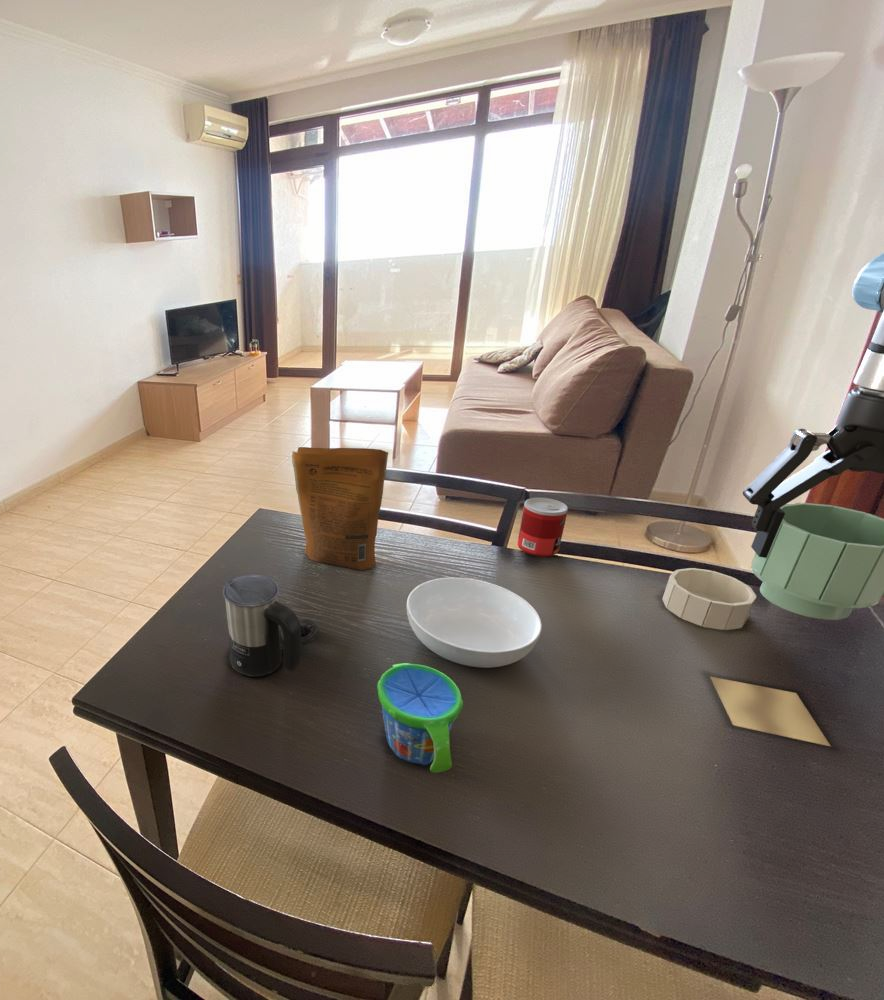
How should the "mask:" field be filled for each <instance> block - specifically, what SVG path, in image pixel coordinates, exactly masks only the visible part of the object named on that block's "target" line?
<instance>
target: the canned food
mask: <svg viewBox="0 0 884 1000" xmlns="http://www.w3.org/2000/svg"><path fill="white" fill-rule="evenodd" d="M568 510H569V507H568V506H567V504H565V503H564V502H562V501H559V500H557V499H553V498H549V497H531V498H528V499H526V500H525V501H524V505H523V509H522V514H521V521H520V526H519V532H518V538H517V547H518V548H519V549H520V551H522V552H524V553H526V554H528V555H530V556H536V557H546V558H547V557H552V556H555V555H557V554H558V552H559V551H560V547H561V542H562V538H563V534H564V529H565V525H566V521H567V517H568Z"/></svg>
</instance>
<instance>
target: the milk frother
mask: <svg viewBox="0 0 884 1000" xmlns="http://www.w3.org/2000/svg"><path fill="white" fill-rule="evenodd" d="M279 589H280V588H279V585H278V583H277V582H276V581H275V580H274V579H272V578H271V577H269V576H265V575H261V574H245V575H240V576H237V577H235V578H233V579H231V580H228V581H227V582H226V584H224V587H223V589H222V595H223V597H224V600H225V609H226V619H227V627H228V635H229V647H230V655H229V663H230V665H231V667H232V669H233V670H234V671H236V672H237V673H239V674H241V675H242V676H246V677H257V678H258V677H264V676H267V675H270V674H272V673H274V672H275V671H276V670H278V669H279V668H280V666H281V664H283V668H284V670H285V671H289V672H291V671H293V670H294V669H295V668H297V666H298V665H299V664H300V663H301V649H302V648H301V647H302V646H303V647H304V646H305V645H308V644H310V643H311V642H312V641H314V640H315V639H316V638H317V637H318V635H320V631H321V629H320V627H319V624H318V623H317V621H314V620H312V619H309V618H301V619H299V618H298V615H297V614H296V613H295V612H294V610H292V609H291V608H290V607H289V606H287V605H285V604H283V603H282V602H279V601H278V595H279ZM280 629H281V633H280ZM307 633H309V634H308V635H306V636H303V637H302V635H303V634H307ZM280 636H281V640H282V644H283V646H282V647H281V643H280V641H281V640H280ZM282 654H283V655H282ZM282 662H283V663H282Z"/></svg>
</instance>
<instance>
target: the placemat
mask: <svg viewBox="0 0 884 1000" xmlns="http://www.w3.org/2000/svg"><path fill="white" fill-rule="evenodd" d="M709 677H710V680H711V682H712V683H713V686H714V689H715V690H716V692H717V695H718V697H719V699H720V701H721V703H722V705H723V707H724V709H725V711H726V713H727V716H728V717H729V719H730V722H731V724H732V725H733V726H734V727H739V728H744V729H748V730H753V731H758V732H763V733H767V734H771V735H777V736H781V737H786V738H790V739H794V740H798V741H803V742H809V743H813V744H818V745H823V746H827V747H831V744H830V743H829V741H828V740H827V737H825V734H824V733H823V732H822V730H821V729H820V727H819V726H818V724H817V722H816V721H815V720H814V718H813V716H812V715H811V713H810V712H809V710H808V709H807V707H806V706H805V703H803V701H802V699H801V698H800V696H799V695H798V693H797V692H792V691H788V690H783V689H777V688H773V687H768V686H767V687H766V686H761V685H756V684H752V683H751V684H750V683H745V682H740V681H735V680H730V679H725V678H719V677H715V676H709Z"/></svg>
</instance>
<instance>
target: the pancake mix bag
mask: <svg viewBox="0 0 884 1000" xmlns="http://www.w3.org/2000/svg"><path fill="white" fill-rule="evenodd" d="M388 458H389V452H388V451H385V450H383V449H378V448H363V447H362V448H361V447H330V448H329V447H325V448H324V447H309V446H308V447H307V446H298V447H297V451H296V450H292V453H291V463H292V467H293V472H294V482H295V490H296V494H297V500H298V506H299V511H300V515H301V522H302V529H303V533H304V538H305V542H306V544H305V547H304V554H305V555H306V556H307V557H308V558H309V560H311V561H313V562H315V563H320V564H325V565H329V566H337V567H342V568H348V569H352V570H357V571H365V570H369V569H372V568H375V567H377V561H376V560H377V559H376V548H375V547H376V546H375V545H376V539H377V534H378V524H379V515H380V512H381V507H382V502H383V496H384V486H385V485H384V484H385V479H386V476H387V465H388Z"/></svg>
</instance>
